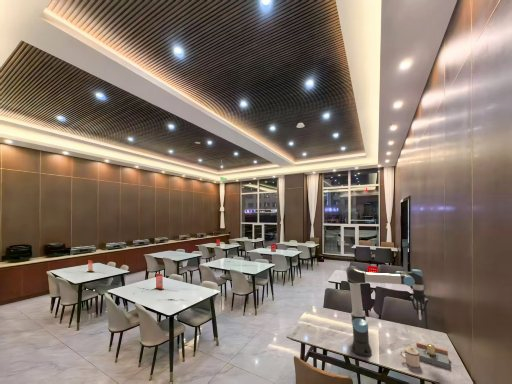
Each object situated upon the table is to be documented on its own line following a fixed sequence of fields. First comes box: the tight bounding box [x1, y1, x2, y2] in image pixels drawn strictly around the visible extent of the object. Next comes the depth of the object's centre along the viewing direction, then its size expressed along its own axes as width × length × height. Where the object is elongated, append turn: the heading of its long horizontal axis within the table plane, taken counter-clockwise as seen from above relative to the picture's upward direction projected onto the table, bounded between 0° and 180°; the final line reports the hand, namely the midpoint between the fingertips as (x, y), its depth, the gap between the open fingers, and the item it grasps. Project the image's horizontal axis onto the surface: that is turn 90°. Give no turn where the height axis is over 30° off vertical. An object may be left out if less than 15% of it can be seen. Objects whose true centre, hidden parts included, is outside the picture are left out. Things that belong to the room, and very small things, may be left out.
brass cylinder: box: [426, 343, 436, 357], centre depth 179 cm, size 5×5×10 cm
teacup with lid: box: [400, 346, 421, 368], centre depth 174 cm, size 12×9×12 cm
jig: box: [415, 341, 450, 370], centre depth 180 cm, size 20×16×6 cm
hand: (420, 319), depth 189 cm, fingers closed
